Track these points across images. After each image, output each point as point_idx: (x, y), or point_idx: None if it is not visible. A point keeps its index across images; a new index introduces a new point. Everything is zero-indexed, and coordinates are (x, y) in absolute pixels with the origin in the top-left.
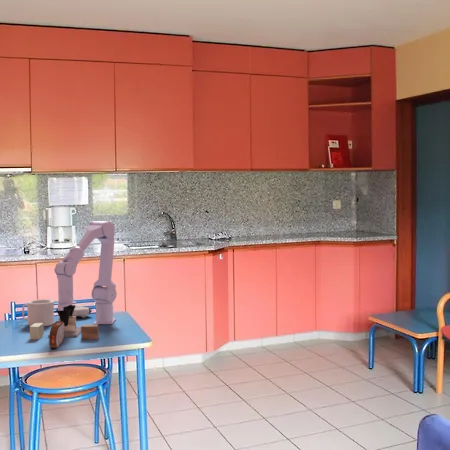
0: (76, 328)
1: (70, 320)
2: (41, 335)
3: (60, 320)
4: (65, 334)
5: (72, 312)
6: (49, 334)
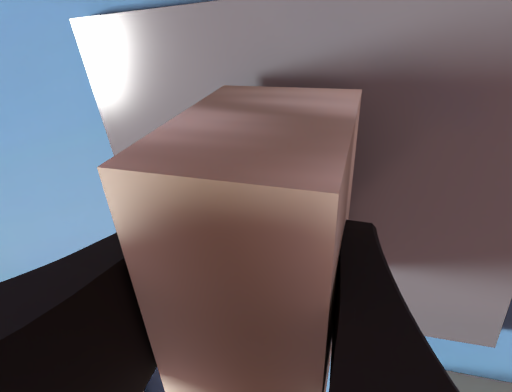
0: (154, 99)
1: (338, 228)
2: (460, 389)
3: (326, 378)
4: (501, 173)
5: (31, 302)
6: (449, 337)
